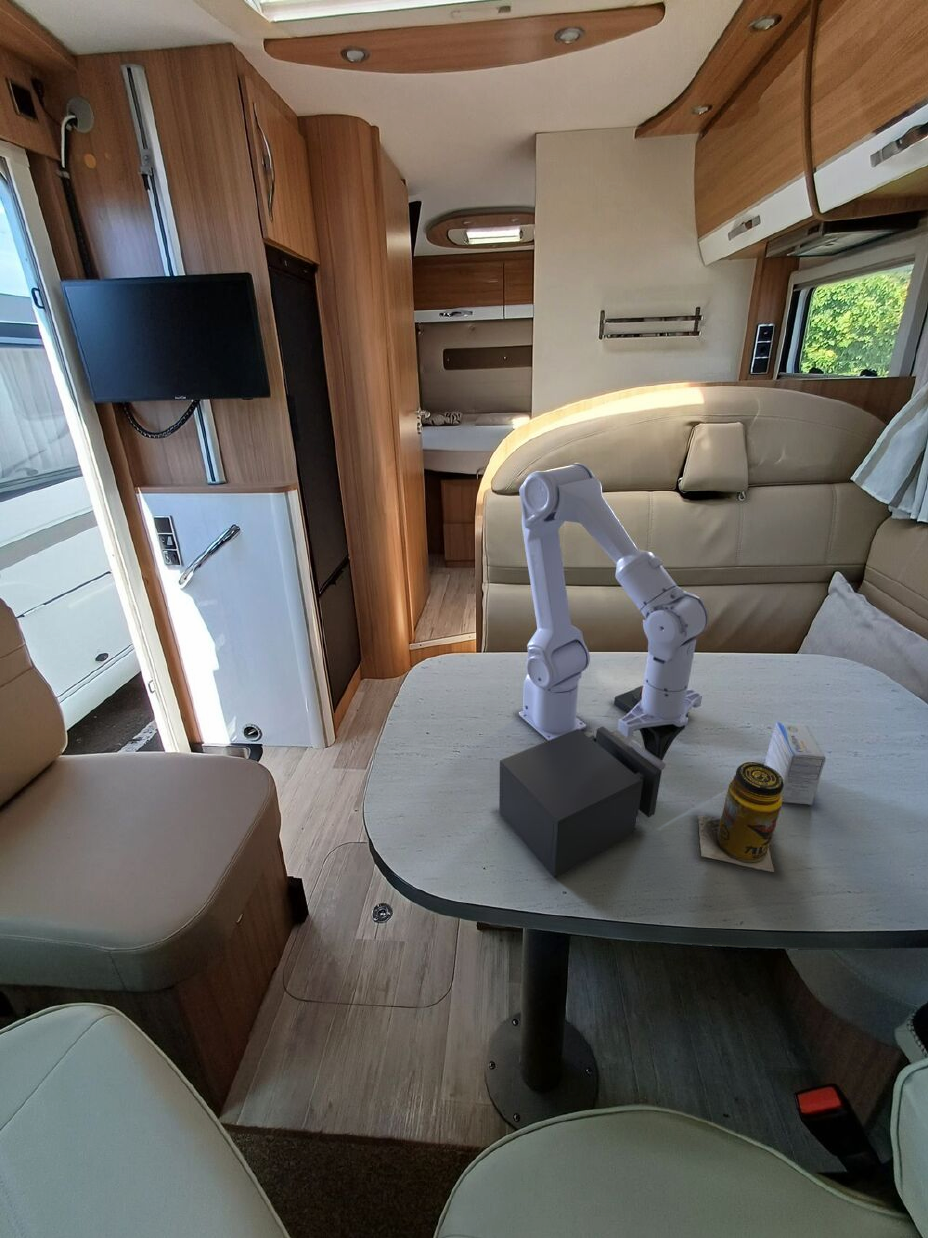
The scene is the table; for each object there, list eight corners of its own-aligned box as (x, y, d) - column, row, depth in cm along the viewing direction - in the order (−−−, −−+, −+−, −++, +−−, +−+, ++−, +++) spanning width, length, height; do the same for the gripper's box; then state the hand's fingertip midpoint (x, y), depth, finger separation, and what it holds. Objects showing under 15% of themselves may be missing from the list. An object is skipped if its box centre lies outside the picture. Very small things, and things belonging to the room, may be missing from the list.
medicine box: (811, 806, 79) (828, 758, 75) (777, 802, 80) (792, 754, 76) (794, 769, 86) (808, 723, 82) (762, 766, 87) (775, 720, 83)
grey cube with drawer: (573, 779, 85) (578, 728, 81) (634, 834, 75) (642, 779, 71) (499, 813, 79) (499, 760, 75) (554, 878, 69) (558, 821, 65)
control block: (613, 704, 103) (615, 688, 101) (645, 691, 106) (647, 676, 105) (655, 733, 95) (657, 716, 93) (687, 718, 98) (690, 702, 97)
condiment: (773, 873, 69) (797, 800, 64) (701, 857, 72) (717, 785, 66) (764, 829, 75) (784, 759, 70) (697, 816, 78) (712, 747, 73)
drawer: (618, 757, 88) (623, 717, 85) (675, 803, 79) (684, 759, 76) (532, 797, 81) (534, 754, 77) (585, 852, 72) (589, 806, 68)
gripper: (650, 710, 70) (638, 793, 76) (726, 678, 77) (709, 756, 82) (611, 685, 76) (602, 763, 82) (684, 657, 82) (671, 731, 88)
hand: (653, 758), depth 82 cm, fingers closed
